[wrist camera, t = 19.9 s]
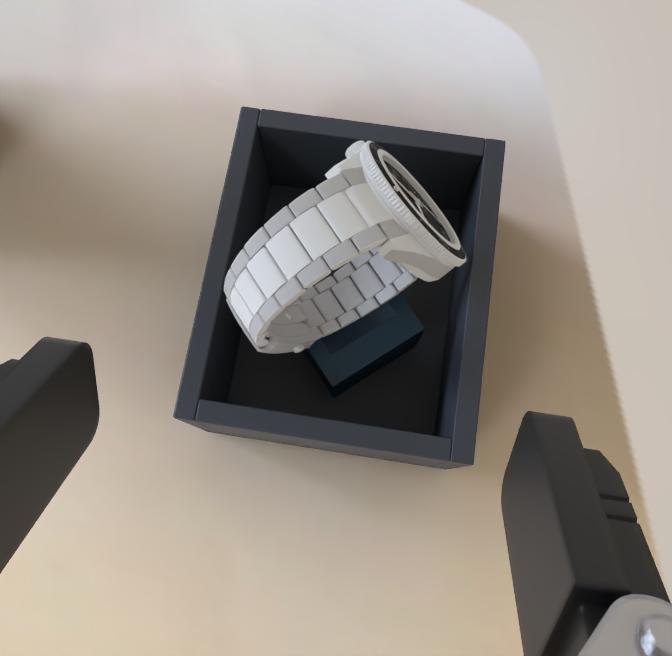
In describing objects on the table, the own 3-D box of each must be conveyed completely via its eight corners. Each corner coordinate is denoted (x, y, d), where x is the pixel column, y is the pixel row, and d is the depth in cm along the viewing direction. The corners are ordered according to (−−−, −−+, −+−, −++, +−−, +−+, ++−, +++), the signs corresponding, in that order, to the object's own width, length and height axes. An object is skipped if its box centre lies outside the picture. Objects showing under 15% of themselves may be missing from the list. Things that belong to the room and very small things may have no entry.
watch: (452, 322, 28) (521, 219, 17) (299, 420, 27) (269, 375, 16) (382, 224, 29) (406, 71, 18) (233, 314, 28) (166, 207, 17)
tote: (206, 431, 27) (172, 417, 22) (259, 173, 30) (240, 105, 25) (447, 469, 27) (473, 465, 21) (476, 203, 30) (505, 140, 24)
